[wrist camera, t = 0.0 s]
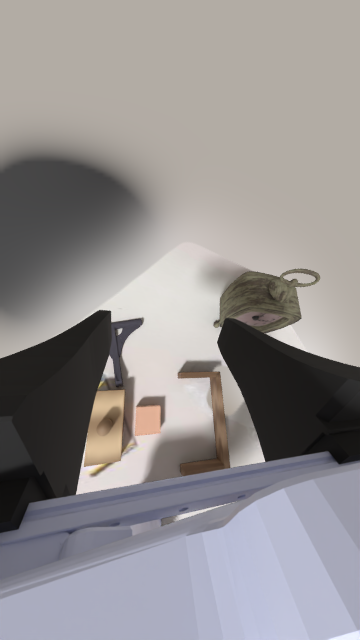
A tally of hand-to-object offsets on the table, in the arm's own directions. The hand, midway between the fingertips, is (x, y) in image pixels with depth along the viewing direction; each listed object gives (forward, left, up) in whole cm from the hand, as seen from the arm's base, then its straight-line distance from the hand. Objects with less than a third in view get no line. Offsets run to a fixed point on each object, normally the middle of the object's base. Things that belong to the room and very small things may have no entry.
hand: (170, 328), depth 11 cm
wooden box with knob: (-11, +7, -33) cm, 35 cm away
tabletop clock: (+13, -25, -32) cm, 43 cm away
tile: (-11, -1, -33) cm, 34 cm away
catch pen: (-11, -13, -32) cm, 36 cm away
